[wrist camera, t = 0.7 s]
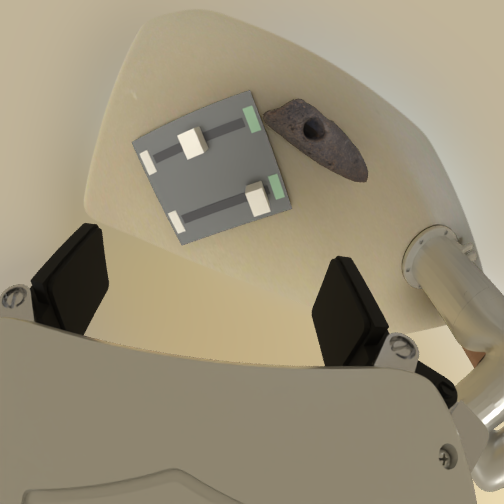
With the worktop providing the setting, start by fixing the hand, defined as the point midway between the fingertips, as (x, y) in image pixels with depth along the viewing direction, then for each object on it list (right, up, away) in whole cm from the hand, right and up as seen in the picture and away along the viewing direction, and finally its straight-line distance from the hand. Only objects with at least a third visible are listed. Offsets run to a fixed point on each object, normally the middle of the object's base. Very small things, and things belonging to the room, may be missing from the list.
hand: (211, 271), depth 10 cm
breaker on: (+2, +8, +23) cm, 24 cm away
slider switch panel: (-3, +12, +24) cm, 27 cm away
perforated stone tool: (+10, +15, +22) cm, 29 cm away
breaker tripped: (-5, +14, +19) cm, 24 cm away
